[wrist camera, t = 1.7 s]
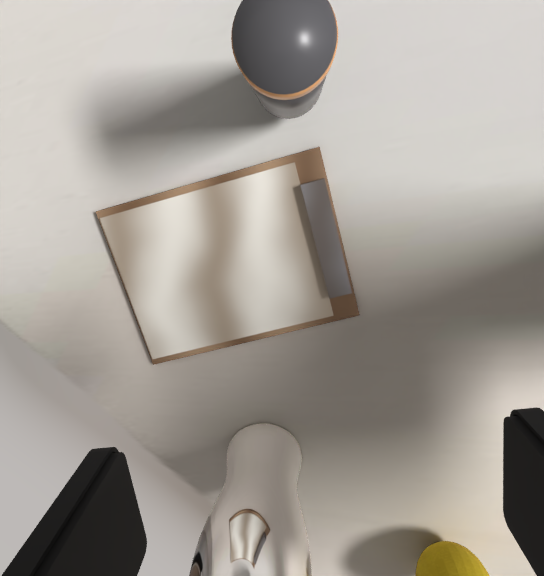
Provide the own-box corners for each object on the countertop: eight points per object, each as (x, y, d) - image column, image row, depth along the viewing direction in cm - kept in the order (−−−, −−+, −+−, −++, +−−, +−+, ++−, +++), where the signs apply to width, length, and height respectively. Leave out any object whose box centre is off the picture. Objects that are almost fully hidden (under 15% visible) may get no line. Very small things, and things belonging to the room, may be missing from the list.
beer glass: (206, 438, 36) (145, 624, 21) (281, 403, 34) (271, 575, 20) (248, 502, 37) (218, 717, 23) (322, 471, 36) (339, 677, 22)
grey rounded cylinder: (312, 44, 28) (324, -42, 16) (327, 112, 29) (349, 76, 17) (249, 64, 28) (216, -5, 17) (266, 130, 29) (247, 108, 18)
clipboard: (319, 146, 29) (320, 146, 28) (358, 313, 32) (361, 318, 31) (98, 211, 31) (90, 213, 30) (154, 362, 34) (149, 369, 33)
